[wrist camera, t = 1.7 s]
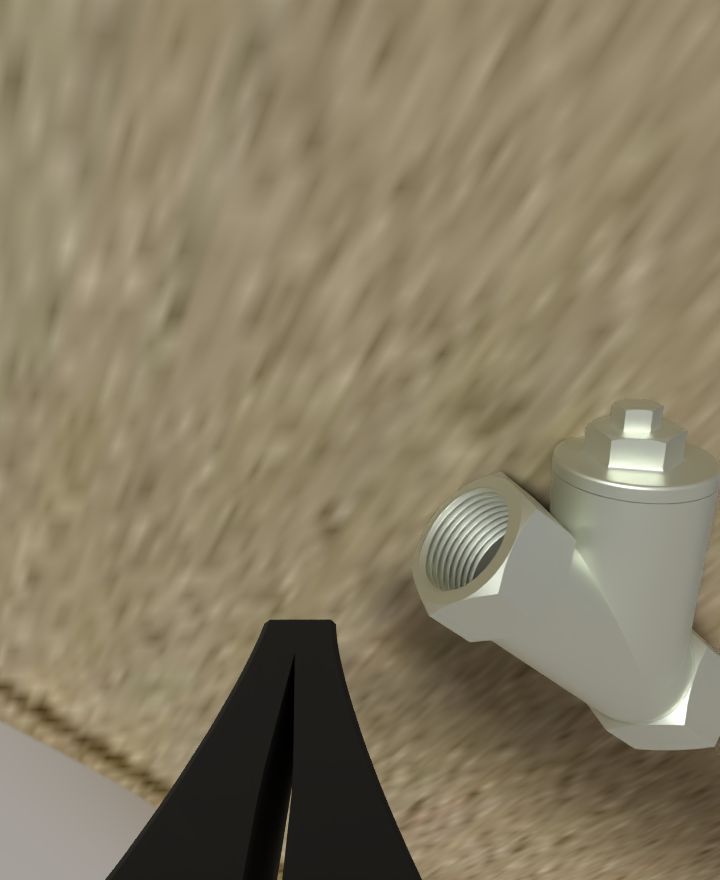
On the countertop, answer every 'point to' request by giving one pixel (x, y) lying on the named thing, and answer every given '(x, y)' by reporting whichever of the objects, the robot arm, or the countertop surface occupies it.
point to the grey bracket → (717, 746)
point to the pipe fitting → (593, 575)
